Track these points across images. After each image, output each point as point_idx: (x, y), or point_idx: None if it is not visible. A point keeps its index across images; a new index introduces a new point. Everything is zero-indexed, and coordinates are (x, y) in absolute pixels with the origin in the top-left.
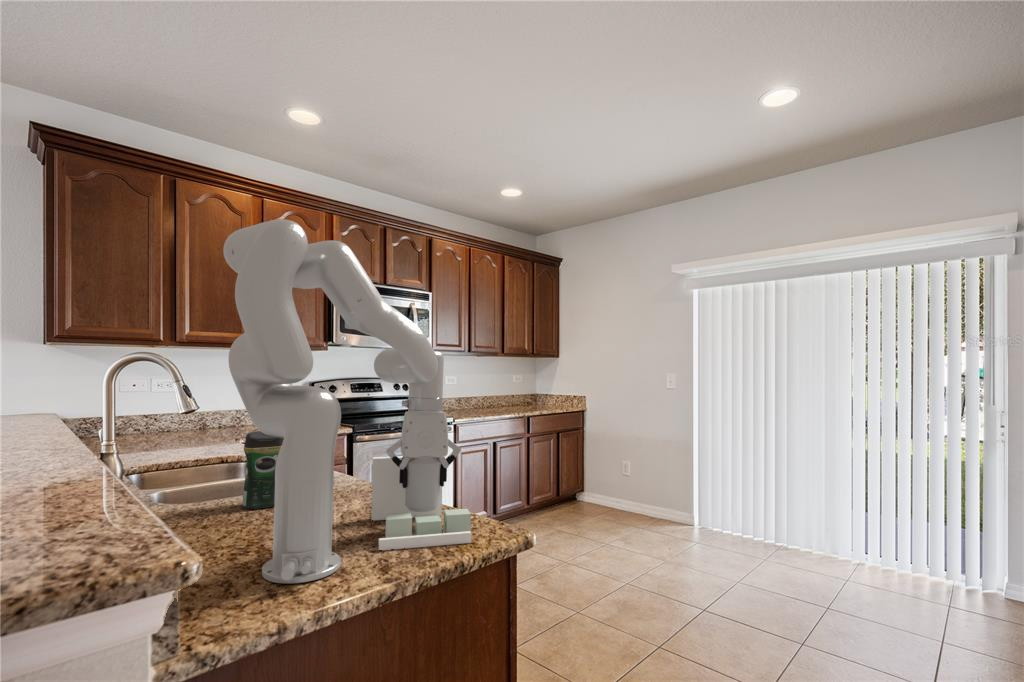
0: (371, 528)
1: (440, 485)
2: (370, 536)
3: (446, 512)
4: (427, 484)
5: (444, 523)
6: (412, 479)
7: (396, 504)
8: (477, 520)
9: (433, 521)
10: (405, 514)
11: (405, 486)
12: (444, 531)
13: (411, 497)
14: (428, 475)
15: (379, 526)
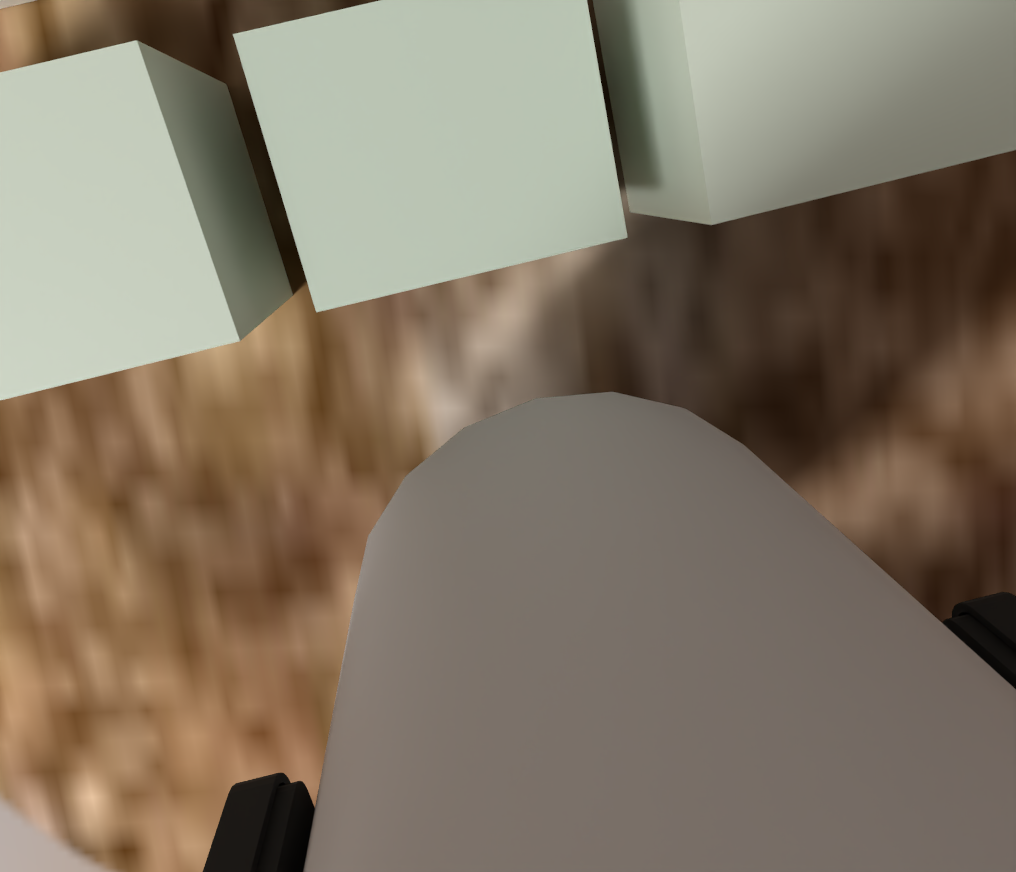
0: (1002, 453)
1: (303, 789)
2: (1006, 220)
3: (176, 214)
4: (545, 571)
5: (251, 254)
6: (940, 642)
7: None
8: (8, 708)
9: (351, 9)
10: (775, 119)
11: (975, 607)
12: (266, 240)
13: (773, 482)
14: (558, 708)
15: (934, 509)
